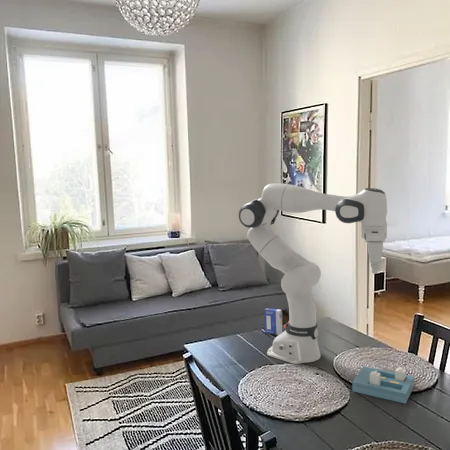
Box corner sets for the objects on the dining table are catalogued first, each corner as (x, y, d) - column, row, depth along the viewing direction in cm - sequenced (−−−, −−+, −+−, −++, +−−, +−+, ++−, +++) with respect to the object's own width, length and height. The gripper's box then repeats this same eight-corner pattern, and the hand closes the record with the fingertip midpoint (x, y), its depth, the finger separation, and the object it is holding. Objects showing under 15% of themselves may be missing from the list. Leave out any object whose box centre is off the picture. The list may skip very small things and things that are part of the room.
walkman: (264, 333, 222) (264, 309, 220) (267, 331, 224) (266, 307, 223) (280, 335, 218) (279, 310, 217) (282, 333, 221) (281, 308, 219)
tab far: (394, 382, 164) (394, 369, 163) (396, 379, 166) (396, 365, 165) (403, 384, 162) (403, 370, 161) (405, 381, 165) (405, 367, 164)
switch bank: (352, 391, 163) (352, 381, 163) (363, 375, 175) (363, 366, 174) (405, 403, 153) (405, 393, 153) (414, 385, 165) (414, 376, 165)
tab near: (369, 386, 162) (369, 373, 161) (371, 383, 164) (371, 369, 163) (378, 388, 160) (378, 374, 159) (380, 385, 162) (380, 371, 162)
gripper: (364, 228, 178) (364, 263, 180) (365, 237, 159) (365, 276, 160) (381, 228, 176) (381, 263, 178) (385, 237, 157) (384, 277, 159)
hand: (374, 269), depth 169 cm, fingers open, 8 cm apart
